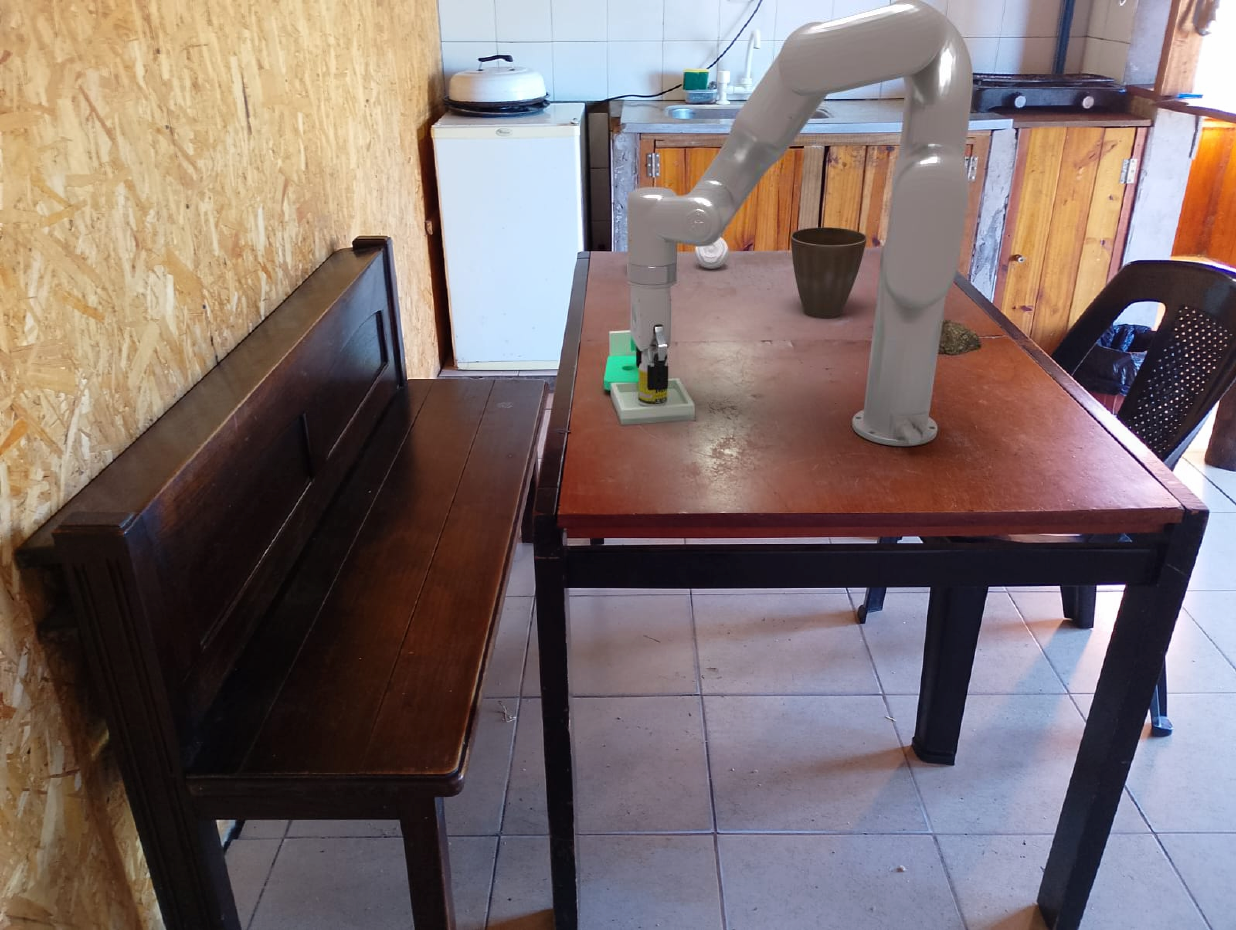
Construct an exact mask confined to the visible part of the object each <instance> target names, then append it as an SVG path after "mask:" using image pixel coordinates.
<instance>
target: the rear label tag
mask: <svg viewBox="0 0 1236 930" xmlns="http://www.w3.org/2000/svg"><path fill="white" fill-rule="evenodd" d="M608 332H609V333H608V335H609V336H608V340H609V341H608V342H609V343H608V344H609V349H608V350H609V356H636V351H631V333H630V329H629V330H615V331H613V330H611V331H608Z"/></svg>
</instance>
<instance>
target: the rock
mask: <svg viewBox="0 0 1236 930" xmlns="http://www.w3.org/2000/svg"><path fill="white" fill-rule="evenodd" d="M981 346H982V342H981V339H980V336H979V335H978V334H977V333H976V332H975V331H973V330H971V328H968V327H966V326H964V325H962V323H960V322H959V323H958V322H956V321H955V320H950V319H945V318H943V324H942V331H941V337H940V342H939V349H938V354H939V355H940V354H941V355H948V356H957V355H964V354H966V353H968V352H970V351H978V350H979V348H980V347H981Z"/></svg>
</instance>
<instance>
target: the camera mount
mask: <svg viewBox="0 0 1236 930" xmlns="http://www.w3.org/2000/svg"><path fill="white" fill-rule="evenodd" d="M631 351H636V344H635V342H634V340H633V338H632V336H631ZM610 383H637V390H638V386H639V368H638V367H637V366H636V356H610V355H609V356H608V357H607V360H606V366H605V371H604V377H603V389H604V390H607V391H611V388H610Z"/></svg>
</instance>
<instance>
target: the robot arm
mask: <svg viewBox="0 0 1236 930" xmlns="http://www.w3.org/2000/svg"><path fill="white" fill-rule="evenodd" d="M972 65H973V64H972V59H971V57H970V52H969V50H968V46H967V44H966V42H965V40H964V38H963V35H962V34H961V33H960V31H959V30H958V28H957V26H955V24H954V23H953V22H952V21H951V20H950V19H949V18H948V17H947V16H945V15H944V14H943V13H942V12H940V11H939V10H938V9H937V8H935V7H933V6H932V5H930V4H928V3H927V2H926V1H923V0H896V1H893V2H892V3H890V4H889V5H886V6H882V7H878V8H875V9H871V10H867V11H864V12H860V13H855V14H853V15H852V14H851V15H848V16H844V17H841V18H840V17H839V18H837V19H833V20H827V21H822V22H821V21H813V22H807V23H805V24H803V25H801V26H800V27H797V28H796V29H795V30H794V31H792V32H791V33H790V34H789V36H788V37H787V38H786V39H785V40H784V42H783V44H782V45H781V48H780V51H779V53H778V54H777V56H776V57H775V59H774V60H773V61H772V63H771V65H770V66H769V68H768V69H767V70H766V72H765V74H764V75H763V76H762V78H761V80H760V81H759V82H758V84H757V85H756V87H755V88H754V90H753V91H752V93H751V94H750V96H749V97H748V99H747V100H746V101H745V102H744V104H743V105H742V107H741V108H740V110H739V111H738V113H737V115H736V116H735V118H734V120H733V122H732V124H731V128H730V131H729V133H728V136H727V137H726V139H725V141H724V143H723V145H722V146H721V148H720V149H719V151H718V153H716V156H715V157H714V158H713V160H712V161H711V163H710V164H709V166H708V167H707V168H706V170H705V172H704V173H703V175H702V176H701V178H699V180H698V181H697V183H696V184H695V186H694V187H693V188H692V190H691V191H689V193H687V194H684V195H677V193H676V192H675V191H674V190H673V189H671V188H666V187H660V186H644V187H640V188H639V187H638V188H635V189H634V190H632V191H630V193H629V194H628V197H627V201H626V202H627V205H626V208H627V209H626V215H627V216H626V219H627V220H626V223H627V227H626V250H627V249H628V275H627V284H629V285H630V286H631V291H630V292H631V294H630V295H631V296H630V316H629V318H630V319H629V321H630V322H629V330H630V333H631V336H632V338H633V340H634V342H635V344H636V366H637V367H638V368H639V366H640V364H641V363H642V360H641V359H642V352H643V351H645V350H648V357H649V365H647V388H648V390H661V389H667V388H668V379H669V371H668V368H669V356H668V351H667V350H668V349H669V348H670V347H671V341H672V340H671V338H672V297H671V296H672V295H671V293H672V292H671V287H672V286H674V285H676V284H677V282H678V244H682V245H686V246H691V247H703V246H708V245H711V244H713V243H715V242H716V241H717V240H718V239H719V238H720V237H721V238H722V236H723V235H724V233H725V231H726V229H727V228H728V226H729V224H731V222H732V220H733V219H734V217H735V216H736V214H738V212H739V210H740V209H741V207H742V206H743V205H744V203H745V201H746V200H747V198H749V196H750V194H752V192H753V190H754V189H755V188H756V187H757V185H758V184H759V182H760V181H761V180H762V179H763V177H764V176H765V175H766V173H767V172H768V171H769V170H770V168H771V167H772V166H774V165H775V164H776V163H778V162H779V161H780V160H781V159H782V158H783V156H784V155H785V154H786V153H787V151H788V150H789V149H790V147H791V146H792V144H793V143H794V141H795V140H796V139H797V137H798V136H799V134H800V133H801V132H802V131H803V129H804V127H805V126H806V125H807V124H808V122H809V121H810V120H811V118H812V117H813V116H814V113H815V112H816V111H817V110H818V108H819V107H820V106H821V104H822V103H823V101H824V100H825V99H826V98H827V97H828V95H831V94H837V93H842V92H846V91H851V90H855V89H859V88H863V87H868V86H872V85H877V84H881V83H884V82H890V81H894V80H897V79H902V80H903V84H904V101H903V102H904V103H903V111H902V125H901V130H900V131H901V133H900V138H899V146H898V154H897V157H896V164H895V167H894V170H893V173H892V177H891V196H890V204H889V212H888V213H889V215H888V222H887V229H886V230H887V231H886V237H885V241H884V243H883V245H882V249H881V252H880V261H879V274H878V284H877V296H876V306H875V315H874V322H873V329H872V337H871V339H872V340H871V345H870V346H871V347H870V356H869V364H868V372H867V380H866V381H867V383H866V390H865V399H864V400H865V401H864V408H863V409H862V410H860V411H858V412H857V413H856V414H855V415H854V416H853V417H852V422H851V426H852V429H853V431H855V433H856V434H858V436H860V437H862V438H864V439H866V440H868V441H870V442H874V443H877V444H882V445H886V446H893V447H912V446H919V445H925V444H926V443H930V442H931V441H933V440H934V439H935V438H936V437H937V434H938V424H937V423H936V421H935V420H934V419H933V418H931V417H930V409H931V404H932V403H931V401H932V395H933V388H934V382H935V376H936V368H937V363H938V362H937V361H938V349H939V342H940V337H941V331H942V324H943V319H944V316H945V315H944V314H945V307H946V302H947V301H946V299H947V294H948V293H949V292H950V290H951V289H952V287H953V285H954V283H955V280H956V279H955V278H956V276H957V271H958V266H959V260H960V255H961V249H962V243H963V237H964V230H965V225H966V219H967V214H968V213H967V212H968V205H969V198H970V196H969V195H970V180H969V175H968V172H967V168H966V164H965V155H966V147H967V141H968V135H969V134H968V132H969V127H970V126H969V125H970V115H971V107H972V98H973V89H974V87H973V86H974V83H973V82H974V81H973V80H974V76H973V66H972ZM653 352H657V353H655V355H654V358H653Z"/></svg>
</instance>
